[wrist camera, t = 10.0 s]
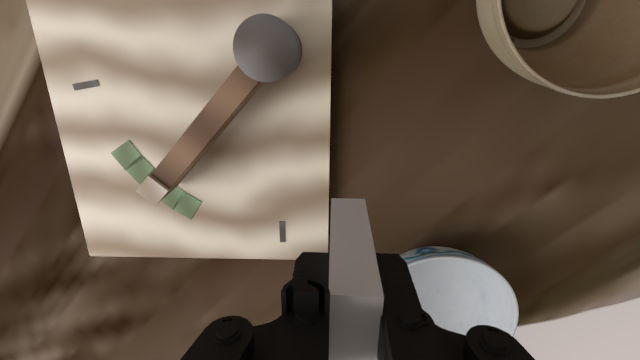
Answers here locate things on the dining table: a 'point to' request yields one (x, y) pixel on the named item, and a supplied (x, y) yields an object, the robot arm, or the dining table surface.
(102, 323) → the dining table surface
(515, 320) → the chinaware
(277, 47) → the gauge needle
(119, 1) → the gauge board
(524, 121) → the dining table surface
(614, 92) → the planter bowl
